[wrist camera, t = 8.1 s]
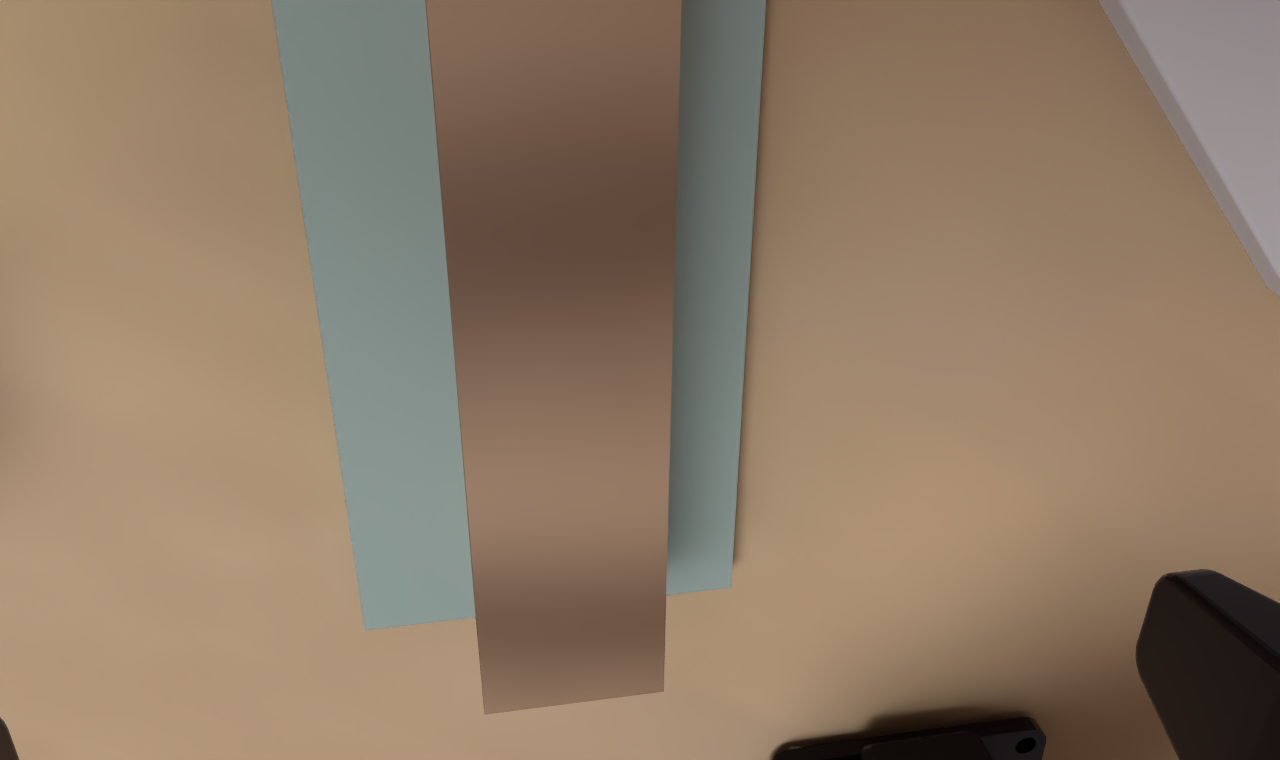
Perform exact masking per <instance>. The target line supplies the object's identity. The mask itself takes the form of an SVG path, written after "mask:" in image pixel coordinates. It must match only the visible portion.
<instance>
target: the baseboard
mask: <svg viewBox="0 0 1280 760" xmlns="http://www.w3.org/2000/svg"><path fill="white" fill-rule="evenodd" d="M1098 2H1099V3H1100V5H1101V7H1102V8H1103V10H1104V12H1105V13H1106V15H1107V17H1108V19H1109V20H1110V22H1111V24H1112V25H1113V27H1114V29H1115V30H1116V32H1117V34H1118V36H1119V37H1120V39H1121V41H1122V42H1123V44H1124V46H1125V47H1126V49H1127V51H1128V52H1129V54H1130V56H1131V58H1132V59H1133V61H1134V63H1135V64H1136V66H1137V68H1138V69H1139V71H1140V73H1141V75H1142V76H1143V78H1144V80H1145V81H1146V83H1147V85H1148V86H1149V88H1150V90H1151V92H1152V93H1153V95H1154V97H1155V98H1156V100H1157V102H1158V103H1159V105H1160V107H1161V108H1162V110H1163V112H1164V114H1165V115H1166V117H1167V119H1168V120H1169V122H1170V124H1171V125H1172V127H1173V129H1174V131H1175V132H1176V134H1177V136H1178V137H1179V139H1180V141H1181V142H1182V144H1183V146H1184V148H1185V149H1186V151H1187V153H1188V154H1189V156H1190V158H1191V159H1192V161H1193V163H1194V164H1195V166H1196V168H1197V170H1198V171H1199V173H1200V175H1201V176H1202V178H1203V180H1204V181H1205V183H1206V185H1207V187H1208V188H1209V190H1210V192H1211V193H1212V195H1213V197H1214V198H1215V200H1216V202H1217V203H1218V205H1219V207H1220V209H1221V210H1222V212H1223V214H1224V215H1225V217H1226V219H1227V220H1228V222H1229V224H1230V226H1231V227H1232V229H1233V231H1234V232H1235V234H1236V236H1237V237H1238V239H1239V241H1240V243H1241V244H1242V246H1243V248H1244V249H1245V251H1246V253H1247V254H1248V256H1249V258H1250V259H1251V261H1252V263H1253V265H1254V266H1255V268H1256V270H1257V271H1258V273H1259V275H1260V276H1261V278H1262V280H1263V282H1264V283H1265V285H1266V287H1267V288H1269V289H1270V290H1272V291H1273V292H1275V293H1276V294H1278V295H1279V296H1280V0H1098Z"/></svg>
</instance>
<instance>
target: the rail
mask: <svg viewBox="0 0 1280 760" xmlns="http://www.w3.org/2000/svg"><path fill="white" fill-rule="evenodd" d="M681 3H682V0H425V5H426V17H427V29H428V41H429V54H430V66H431V78H432V90H433V102H434V115H435V127H436V139H437V151H438V164H439V176H440V188H441V200H442V212H443V225H444V237H445V249H446V261H447V274H448V286H449V298H450V310H451V322H452V335H453V347H454V359H455V371H456V384H457V396H458V408H459V420H460V432H461V445H462V457H463V469H464V481H465V494H466V506H467V518H468V530H469V542H470V555H471V567H472V579H473V591H474V603H475V614H476V625H477V636H478V648H479V659H480V670H481V681H482V692H483V704H484V714H492V713H500V712H508V711H515V710H523V709H531V708H539V707H547V706H554V705H562V704H570V703H578V702H586V701H593V700H601V699H609V698H617V697H625V696H632V695H640V694H648V693H656V692H664V657H665V619H666V580H667V542H668V503H669V465H670V426H671V388H672V349H673V311H674V273H675V234H676V196H677V157H678V119H679V80H680V42H681Z"/></svg>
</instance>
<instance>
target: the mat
mask: <svg viewBox="0 0 1280 760" xmlns="http://www.w3.org/2000/svg"><path fill="white" fill-rule="evenodd" d="M271 1H272V7H273V14H274V21H275V28H276V34H277V41H278V48H279V55H280V61H281V68H282V75H283V82H284V88H285V95H286V102H287V109H288V115H289V122H290V129H291V136H292V142H293V149H294V156H295V162H296V169H297V176H298V183H299V189H300V196H301V203H302V210H303V216H304V223H305V230H306V237H307V243H308V250H309V257H310V264H311V270H312V277H313V284H314V290H315V297H316V304H317V311H318V317H319V324H320V331H321V338H322V344H323V351H324V358H325V365H326V371H327V378H328V385H329V392H330V398H331V405H332V412H333V418H334V425H335V432H336V439H337V445H338V452H339V459H340V466H341V472H342V479H343V486H344V493H345V499H346V506H347V513H348V520H349V526H350V533H351V540H352V546H353V553H354V560H355V567H356V573H357V580H358V587H359V594H360V600H361V607H362V614H363V621H364V627H365V630H371V629H380V628H388V627H397V626H405V625H414V624H423V623H431V622H440V621H448V620H457V619H466V618H474V617H476V614H475V603H474V591H473V579H472V567H471V555H470V542H469V530H468V518H467V506H466V494H465V481H464V469H463V457H462V445H461V432H460V420H459V408H458V396H457V384H456V371H455V359H454V347H453V335H452V322H451V310H450V298H449V286H448V274H447V261H446V249H445V237H444V225H443V212H442V200H441V188H440V176H439V164H438V151H437V139H436V127H435V115H434V102H433V90H432V78H431V66H430V54H429V41H428V29H427V17H426V5H425V0H271ZM765 12H766V0H682V3H681V42H680V80H679V119H678V157H677V196H676V234H675V273H674V311H673V349H672V388H671V426H670V465H669V503H668V542H667V580H666V595H672V594H680V593H689V592H698V591H706V590H715V589H723V588H731V581H732V565H733V548H734V531H735V514H736V498H737V481H738V464H739V447H740V431H741V414H742V397H743V380H744V364H745V347H746V330H747V313H748V297H749V280H750V263H751V246H752V230H753V213H754V196H755V179H756V163H757V146H758V129H759V112H760V96H761V79H762V62H763V45H764V29H765Z"/></svg>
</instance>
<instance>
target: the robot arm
mask: <svg viewBox="0 0 1280 760" xmlns="http://www.w3.org/2000/svg"><path fill="white" fill-rule="evenodd" d="M1136 663H1137V668H1138V671H1139V675H1140V677H1141V680H1142V682H1143V684H1144V686H1145V688H1146V690H1147V692H1148V695H1149V697H1150V699H1151V701H1152V703H1153V705H1154V707H1155V709H1156V712H1157V714H1158V716H1159V718H1160V720H1161V722H1162V724H1163V726H1164V729H1165V731H1166V733H1167V735H1168V737H1169V739H1170V741H1171V743H1172V746H1173V748H1174V750H1175V752H1176V754H1177V756H1178V758H1179V760H1280V603H1278V602H1276V601H1274V600H1272V599H1270V598H1268V597H1266V596H1264V595H1262V594H1260V593H1258V592H1256V591H1254V590H1252V589H1250V588H1248V587H1246V586H1244V585H1242V584H1240V583H1238V582H1236V581H1234V580H1232V579H1230V578H1228V577H1226V576H1224V575H1222V574H1220V573H1218V572H1216V571H1213V570H1207V569H1199V570H1191V571H1182V572H1174V573H1168V574H1166V575H1163V576H1162V577H1161V578H1160V579H1159V580H1158V581H1157V582H1156V584H1155V586H1154V588H1153V591H1152V595H1151V598H1150V601H1149V605H1148V608H1147V611H1146V615H1145V618H1144V621H1143V624H1142V628H1141V631H1140V634H1139V638H1138V641H1137V645H1136ZM1045 744H1046V736H1045V735H1044V733H1043V732H1042V730H1041V728H1040V727H1039V725H1038V724H1037V722H1036V721H1035V720H1034V719H1032V718H1030V717H1018V718H1011V719H1004V720H997V721H990V722H983V723H975V724H968V725H961V726H954V727H947V728H940V729H933V730H926V731H918V732H911V733H904V734H897V735H890V736H883V737H876V738H869V739H861V740H854V741H847V742H840V743H833V744H826V745H819V746H811V747H804V748H797V749H791V750H787V751H784V752H782V753H780V754H779V755H777V756H776V757H775V758H774V759H773V760H1042V756H1043V752H1044V748H1045ZM0 760H19V757H18V755H17V752H16V749H15V747H14V744H13V741H12V738H11V736H10V733H9V730H8V728H7V726H6V724H5V722H4V721H3V720H2V719H1V718H0Z"/></svg>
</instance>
